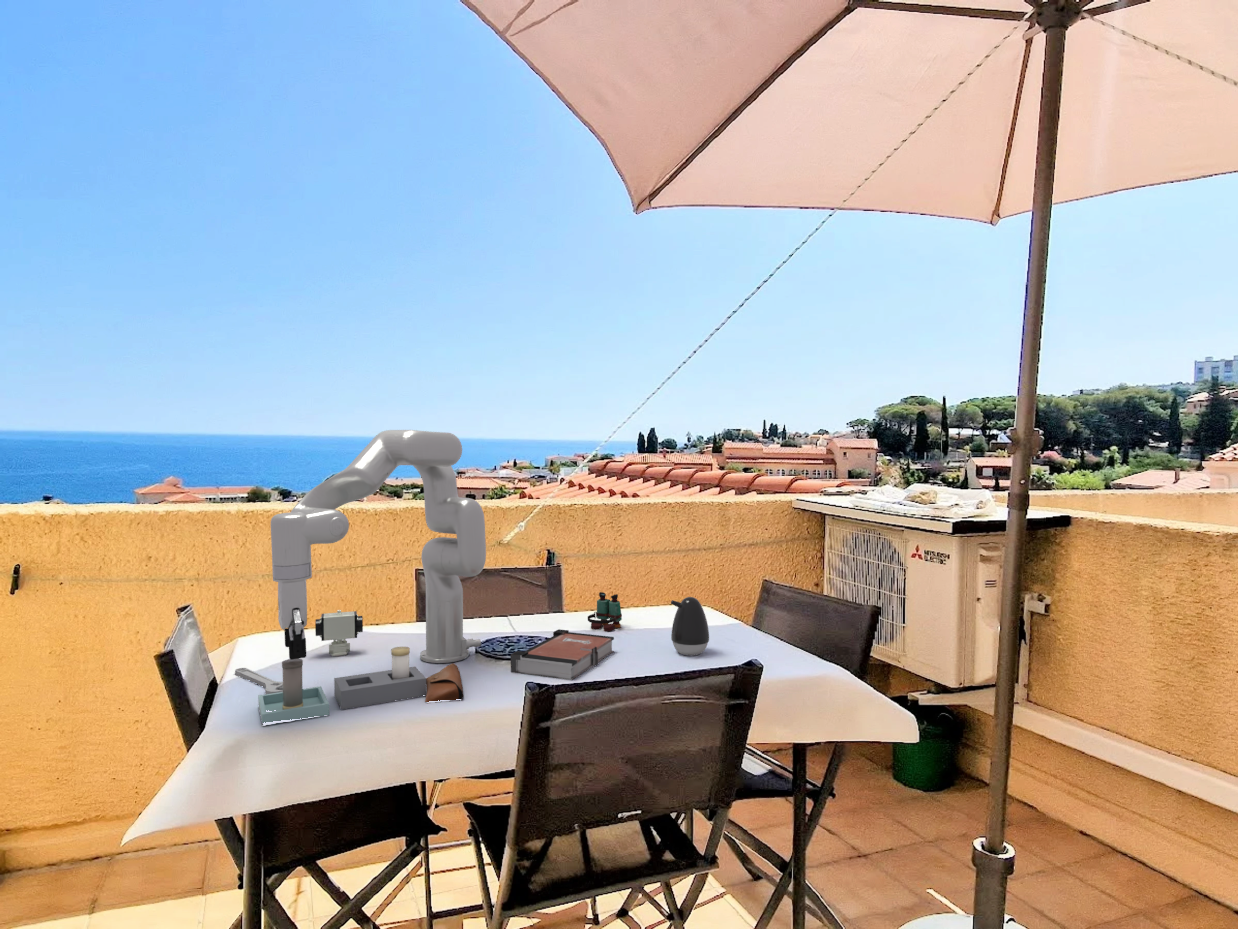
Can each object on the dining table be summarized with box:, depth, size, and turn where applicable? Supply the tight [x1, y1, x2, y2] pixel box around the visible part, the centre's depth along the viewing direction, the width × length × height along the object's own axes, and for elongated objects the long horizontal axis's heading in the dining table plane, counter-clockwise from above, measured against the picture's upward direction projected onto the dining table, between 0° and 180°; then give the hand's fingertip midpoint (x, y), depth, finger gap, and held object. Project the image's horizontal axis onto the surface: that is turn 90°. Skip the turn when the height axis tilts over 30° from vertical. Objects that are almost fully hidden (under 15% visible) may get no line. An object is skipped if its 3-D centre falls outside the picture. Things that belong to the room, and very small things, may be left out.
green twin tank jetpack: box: [587, 591, 623, 632], centre depth 226 cm, size 9×11×10 cm
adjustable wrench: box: [234, 667, 283, 694], centre depth 175 cm, size 25×6×2 cm, turn 45°
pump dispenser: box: [670, 596, 710, 657], centre depth 200 cm, size 10×10×15 cm
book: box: [510, 628, 615, 681], centre depth 192 cm, size 26×18×5 cm
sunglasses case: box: [424, 662, 464, 703], centre depth 171 cm, size 18×7×7 cm, turn 16°
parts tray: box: [257, 685, 330, 723], centre depth 156 cm, size 13×13×2 cm
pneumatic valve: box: [314, 609, 364, 658], centre depth 199 cm, size 6×12×12 cm, turn 111°
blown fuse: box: [281, 658, 304, 710], centre depth 156 cm, size 4×4×10 cm
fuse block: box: [333, 666, 427, 710], centre depth 166 cm, size 18×10×4 cm, turn 119°
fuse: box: [390, 646, 411, 680], centre depth 168 cm, size 4×4×10 cm
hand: (295, 652), depth 157 cm, fingers open, 9 cm apart
